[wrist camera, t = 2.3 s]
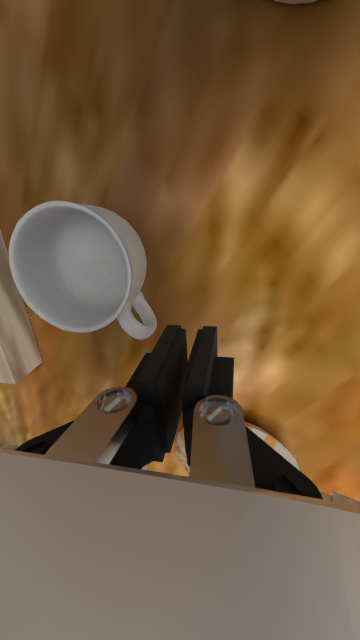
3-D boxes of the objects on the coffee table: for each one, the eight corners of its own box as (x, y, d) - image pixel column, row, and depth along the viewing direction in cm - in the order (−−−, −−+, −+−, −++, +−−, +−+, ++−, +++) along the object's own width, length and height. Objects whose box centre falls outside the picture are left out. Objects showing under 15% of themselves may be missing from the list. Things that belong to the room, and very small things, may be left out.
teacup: (44, 242, 30) (-18, 256, 23) (111, 174, 25) (61, 166, 18) (124, 338, 33) (91, 377, 26) (195, 292, 28) (180, 325, 21)
